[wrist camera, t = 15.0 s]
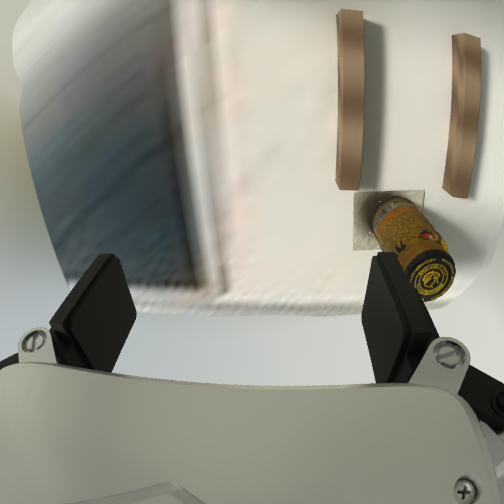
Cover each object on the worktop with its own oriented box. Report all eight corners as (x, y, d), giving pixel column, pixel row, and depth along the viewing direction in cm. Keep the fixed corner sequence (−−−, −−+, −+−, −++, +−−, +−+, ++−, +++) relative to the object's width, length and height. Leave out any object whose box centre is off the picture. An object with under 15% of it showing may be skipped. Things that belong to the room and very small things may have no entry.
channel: (336, 14, 25) (341, 9, 22) (466, 39, 23) (480, 38, 21) (335, 180, 34) (339, 189, 31) (455, 189, 32) (467, 198, 29)
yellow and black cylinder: (417, 245, 36) (455, 307, 26) (352, 249, 38) (373, 316, 27) (423, 189, 33) (471, 238, 22) (353, 191, 34) (380, 244, 24)
